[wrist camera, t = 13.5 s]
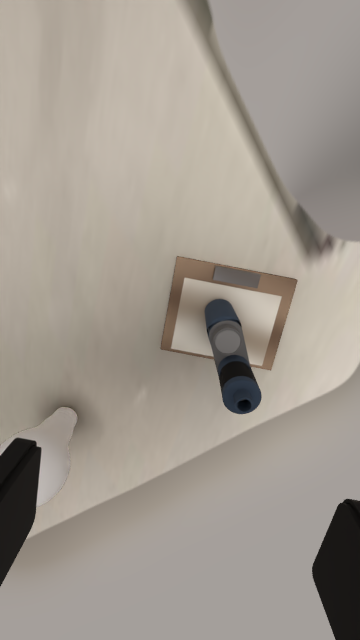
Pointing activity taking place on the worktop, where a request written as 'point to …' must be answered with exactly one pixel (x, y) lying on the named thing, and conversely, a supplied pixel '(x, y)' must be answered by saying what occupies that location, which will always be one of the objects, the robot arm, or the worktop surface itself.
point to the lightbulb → (50, 450)
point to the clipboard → (246, 299)
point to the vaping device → (231, 358)
